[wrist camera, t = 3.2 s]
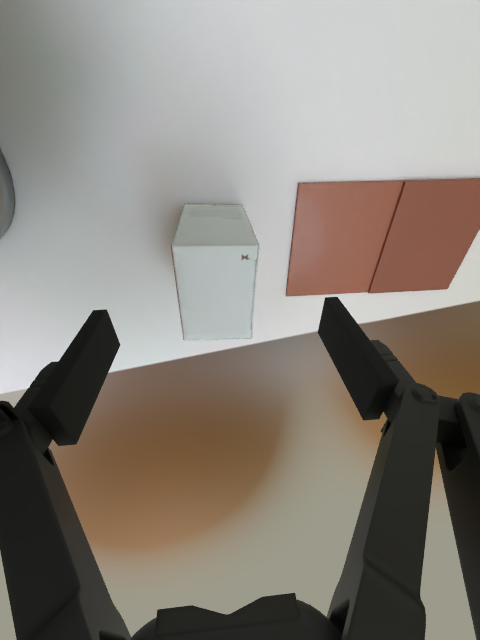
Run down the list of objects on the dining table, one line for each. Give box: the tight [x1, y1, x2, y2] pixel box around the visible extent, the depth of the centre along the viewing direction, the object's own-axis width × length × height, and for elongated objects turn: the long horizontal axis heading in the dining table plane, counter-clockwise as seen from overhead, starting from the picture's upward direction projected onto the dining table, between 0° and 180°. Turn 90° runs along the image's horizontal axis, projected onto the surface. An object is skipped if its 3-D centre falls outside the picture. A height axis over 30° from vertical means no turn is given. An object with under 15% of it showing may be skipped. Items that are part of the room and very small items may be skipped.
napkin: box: [286, 178, 480, 296], centre depth 28 cm, size 20×12×1 cm, turn 91°
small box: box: [171, 204, 259, 340], centre depth 22 cm, size 8×6×10 cm
